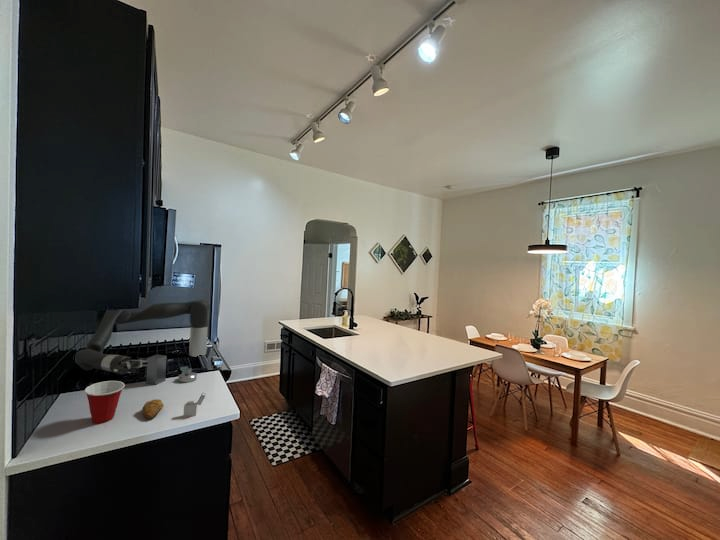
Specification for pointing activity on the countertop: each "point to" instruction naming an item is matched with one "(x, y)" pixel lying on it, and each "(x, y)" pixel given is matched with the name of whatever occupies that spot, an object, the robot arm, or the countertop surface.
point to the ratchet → (187, 375)
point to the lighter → (192, 406)
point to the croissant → (152, 408)
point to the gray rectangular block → (156, 369)
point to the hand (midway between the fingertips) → (146, 367)
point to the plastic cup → (103, 400)
